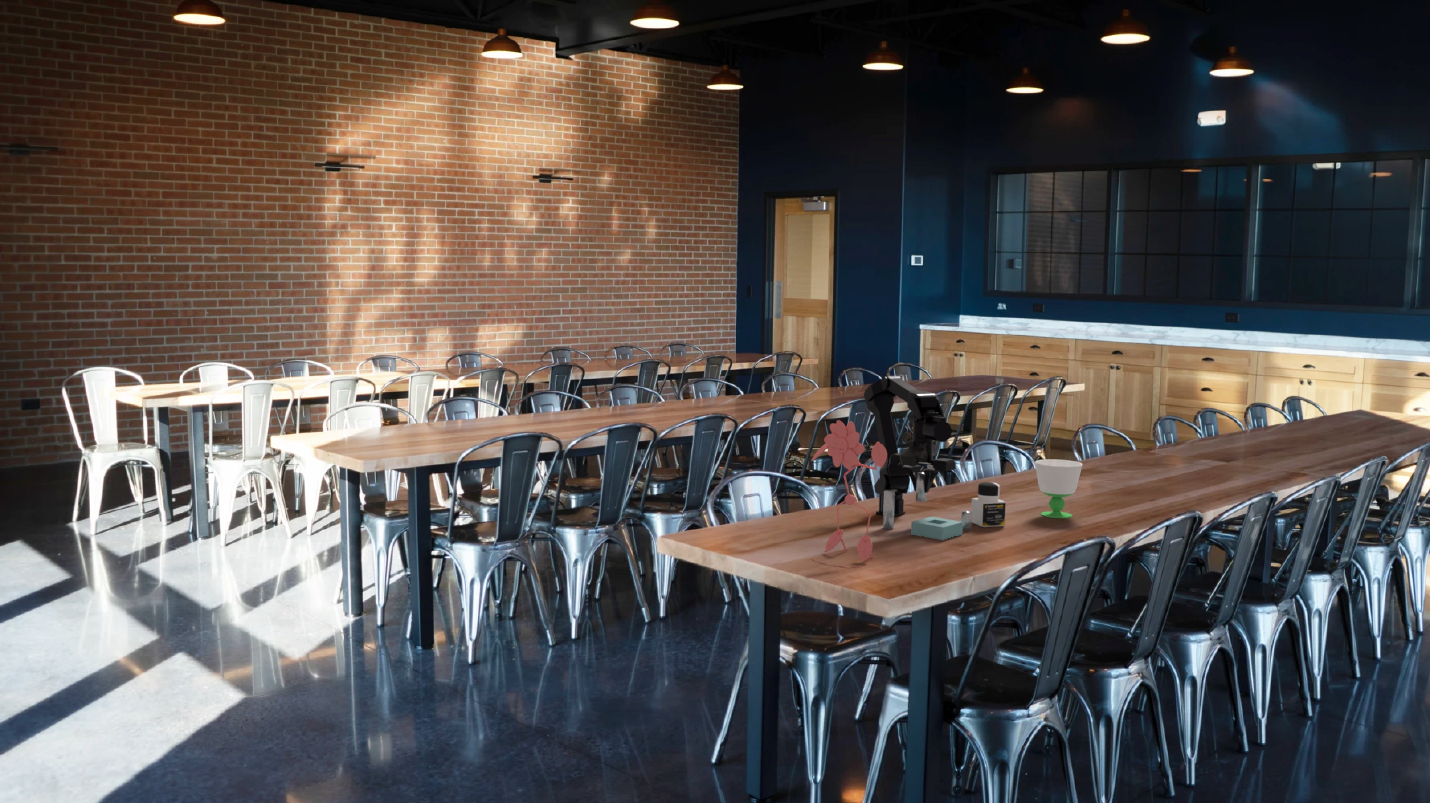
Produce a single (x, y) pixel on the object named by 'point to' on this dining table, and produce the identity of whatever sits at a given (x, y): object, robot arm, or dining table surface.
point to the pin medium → (920, 487)
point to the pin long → (888, 509)
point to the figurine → (845, 450)
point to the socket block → (936, 528)
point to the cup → (1057, 483)
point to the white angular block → (988, 506)
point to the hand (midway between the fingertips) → (921, 491)
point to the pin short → (966, 519)
